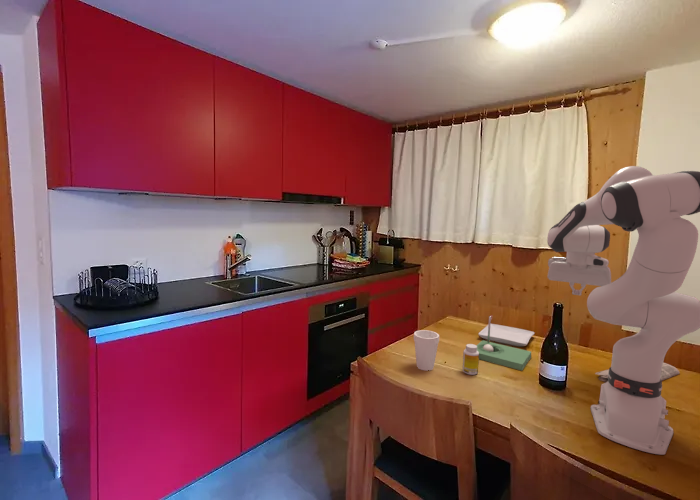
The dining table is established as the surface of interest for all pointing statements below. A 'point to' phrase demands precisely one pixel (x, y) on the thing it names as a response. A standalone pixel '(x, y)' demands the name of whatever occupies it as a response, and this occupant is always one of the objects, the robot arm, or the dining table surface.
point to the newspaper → (665, 373)
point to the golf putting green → (504, 355)
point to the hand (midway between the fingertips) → (576, 294)
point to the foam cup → (426, 348)
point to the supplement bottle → (470, 359)
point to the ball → (488, 348)
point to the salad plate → (507, 335)
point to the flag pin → (489, 328)
